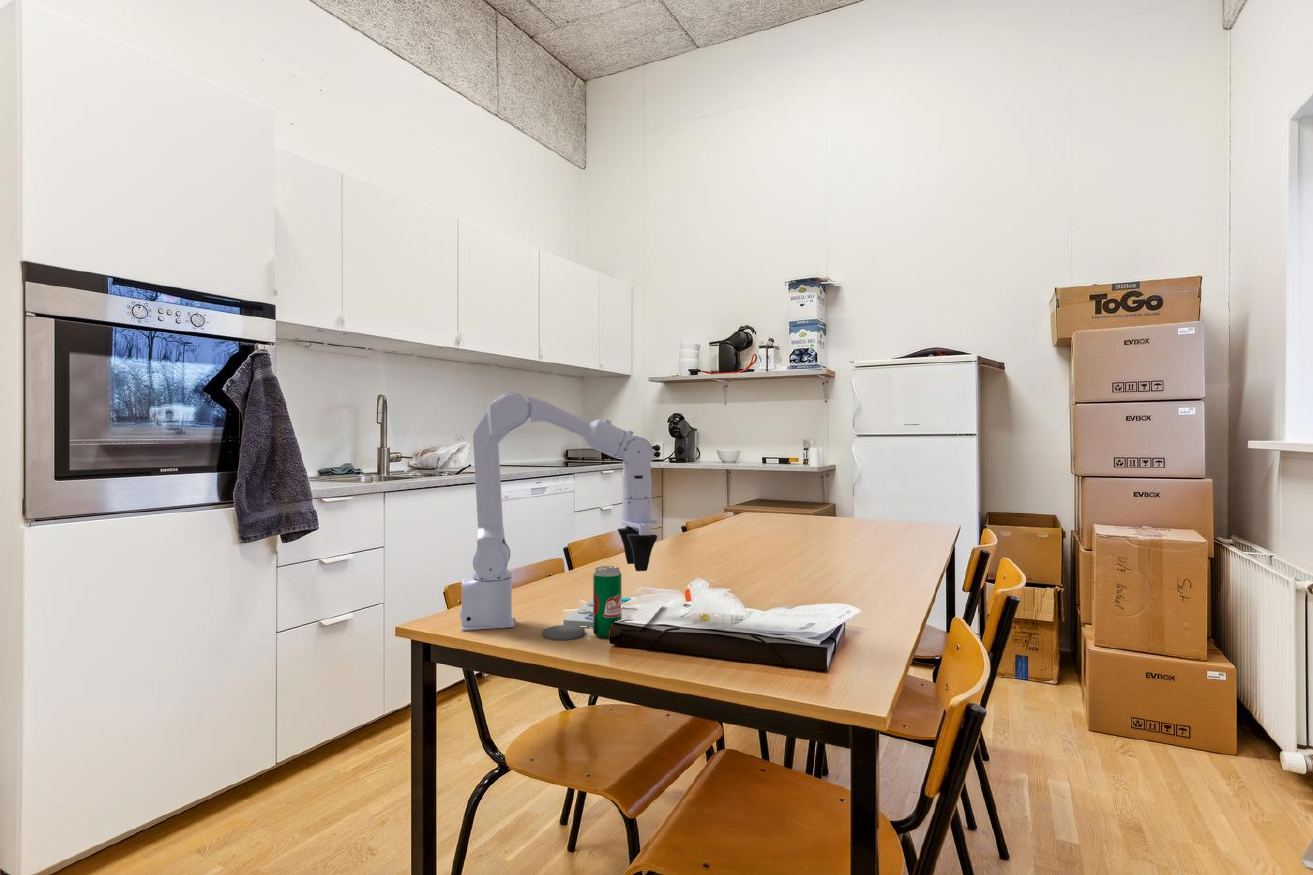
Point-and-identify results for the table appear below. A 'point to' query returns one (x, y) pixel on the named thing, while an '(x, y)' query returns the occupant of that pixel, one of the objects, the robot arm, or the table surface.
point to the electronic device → (585, 615)
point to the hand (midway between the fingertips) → (636, 567)
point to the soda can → (606, 599)
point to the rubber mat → (563, 632)
